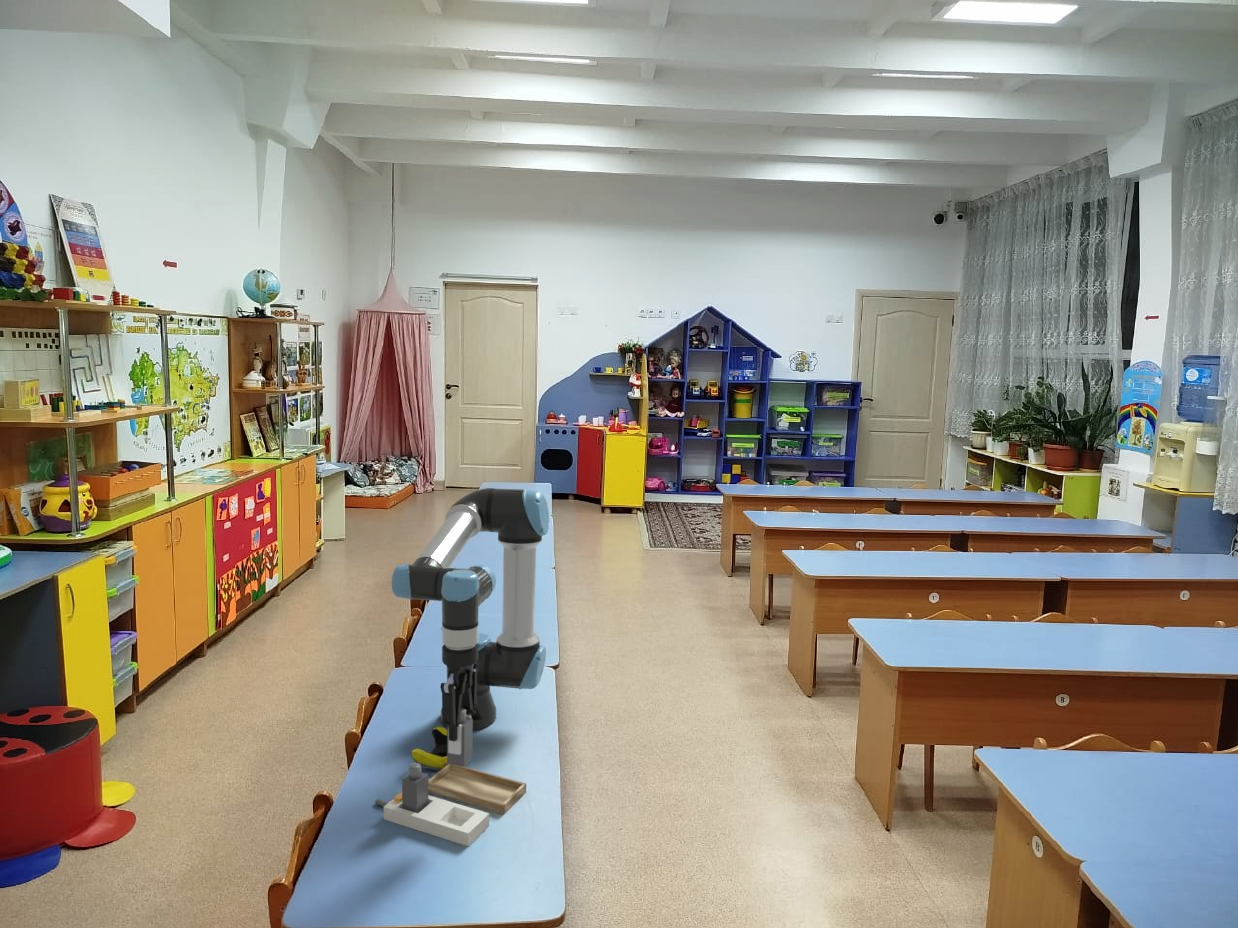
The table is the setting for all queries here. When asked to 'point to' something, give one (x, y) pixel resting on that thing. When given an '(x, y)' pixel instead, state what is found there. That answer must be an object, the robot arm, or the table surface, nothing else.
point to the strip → (439, 819)
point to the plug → (463, 742)
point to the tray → (476, 788)
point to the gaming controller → (434, 751)
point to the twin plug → (415, 789)
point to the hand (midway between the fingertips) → (460, 747)
